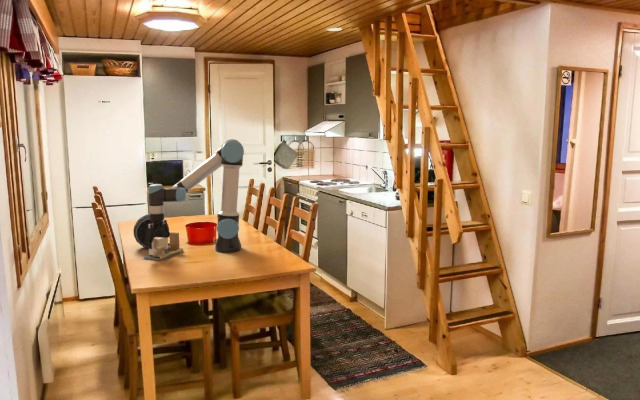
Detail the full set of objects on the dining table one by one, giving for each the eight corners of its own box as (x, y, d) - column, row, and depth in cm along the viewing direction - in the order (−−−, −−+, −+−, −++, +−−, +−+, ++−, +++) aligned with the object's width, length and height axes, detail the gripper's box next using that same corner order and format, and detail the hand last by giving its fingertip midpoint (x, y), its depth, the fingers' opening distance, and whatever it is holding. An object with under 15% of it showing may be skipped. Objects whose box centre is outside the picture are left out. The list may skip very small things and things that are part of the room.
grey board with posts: (183, 251, 293) (182, 232, 291) (161, 260, 273) (160, 240, 271) (167, 249, 296) (166, 231, 294) (144, 259, 277) (143, 239, 275)
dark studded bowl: (170, 248, 300) (168, 215, 296) (134, 251, 293) (132, 217, 290) (169, 244, 310) (167, 212, 306) (134, 246, 303) (132, 213, 300)
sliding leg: (164, 255, 278) (164, 237, 277) (160, 257, 275) (159, 239, 273) (152, 254, 281) (151, 236, 279) (148, 255, 277) (147, 238, 276)
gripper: (164, 208, 286) (165, 245, 289) (136, 216, 263) (138, 256, 267) (175, 209, 284) (177, 247, 287) (148, 217, 261) (150, 257, 265)
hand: (158, 251), depth 277 cm, fingers open, 12 cm apart
